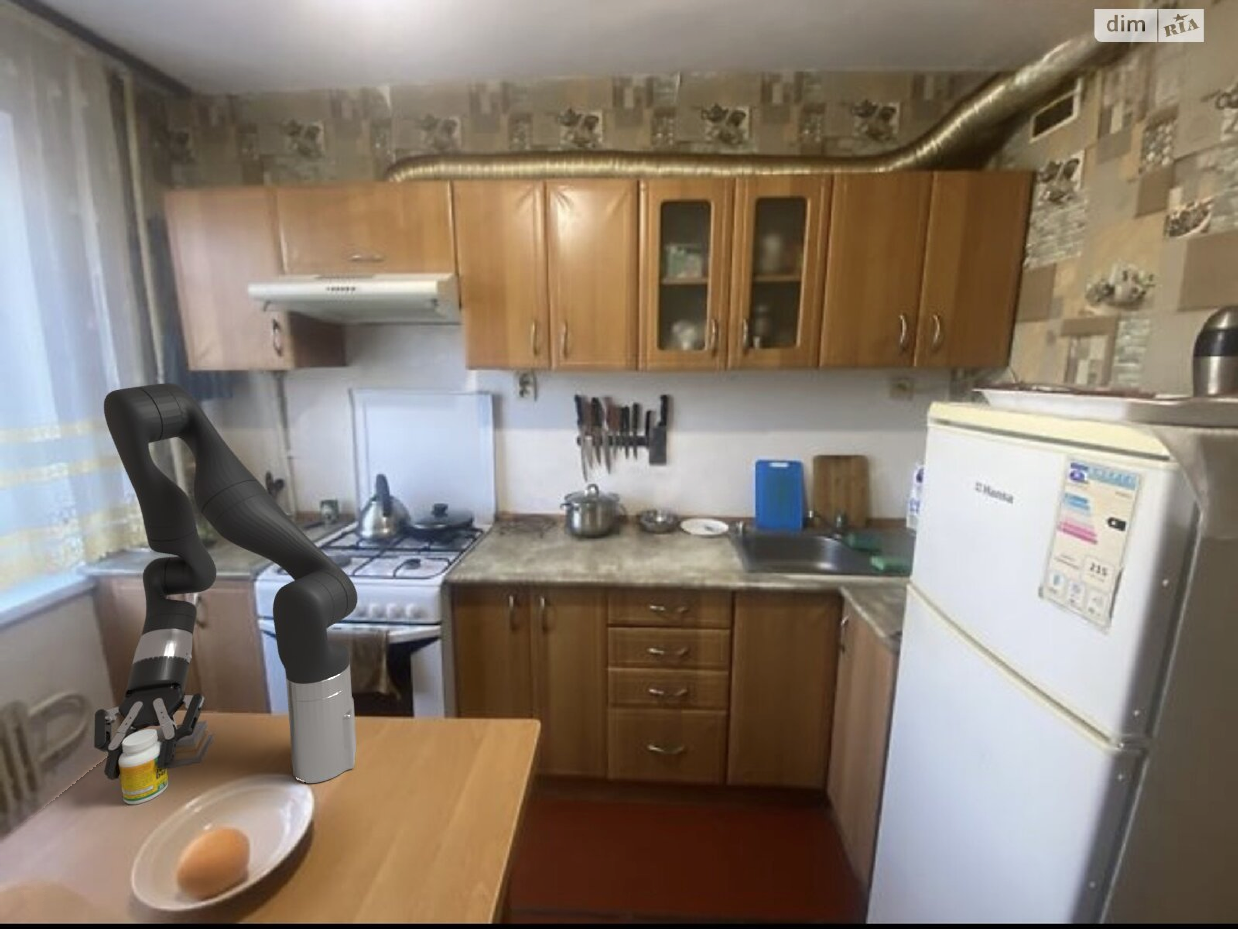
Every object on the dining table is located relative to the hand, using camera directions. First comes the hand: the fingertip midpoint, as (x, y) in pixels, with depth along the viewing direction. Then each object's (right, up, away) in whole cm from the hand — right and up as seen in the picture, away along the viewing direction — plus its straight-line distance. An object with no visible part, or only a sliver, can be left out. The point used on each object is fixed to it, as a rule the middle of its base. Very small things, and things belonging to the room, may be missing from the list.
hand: (138, 772), depth 81 cm
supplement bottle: (-1, -5, +2) cm, 5 cm away
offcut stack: (-3, -3, +11) cm, 12 cm away
